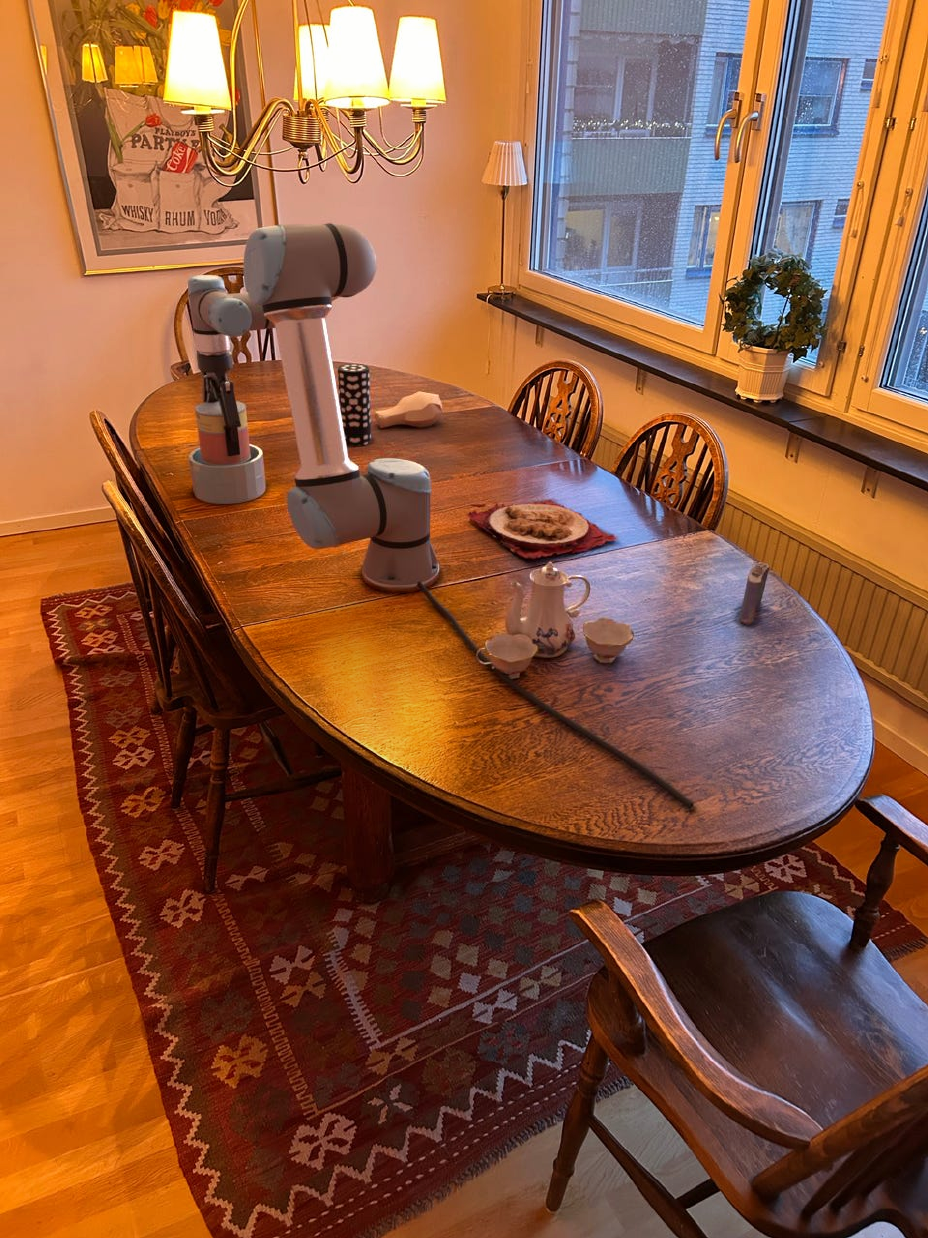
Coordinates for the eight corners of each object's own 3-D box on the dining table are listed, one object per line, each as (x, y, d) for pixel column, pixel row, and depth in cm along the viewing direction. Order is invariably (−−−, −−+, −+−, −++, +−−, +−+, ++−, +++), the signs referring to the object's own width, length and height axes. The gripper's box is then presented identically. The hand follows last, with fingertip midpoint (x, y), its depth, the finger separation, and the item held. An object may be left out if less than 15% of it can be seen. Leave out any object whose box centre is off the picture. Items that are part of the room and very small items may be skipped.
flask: (750, 626, 160) (762, 574, 154) (734, 622, 161) (745, 570, 155) (761, 605, 167) (773, 554, 161) (746, 601, 168) (757, 551, 162)
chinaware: (495, 704, 140) (505, 621, 130) (454, 643, 152) (461, 562, 142) (642, 668, 150) (662, 588, 140) (593, 614, 162) (608, 537, 152)
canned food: (211, 447, 209) (204, 398, 203) (257, 450, 208) (252, 401, 202) (194, 464, 199) (187, 413, 193) (242, 467, 199) (236, 416, 193)
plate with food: (528, 567, 178) (530, 552, 176) (464, 518, 197) (465, 504, 195) (618, 544, 189) (621, 530, 187) (549, 500, 208) (551, 486, 206)
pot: (276, 495, 206) (273, 459, 201) (207, 509, 198) (202, 471, 194) (250, 472, 218) (247, 438, 213) (184, 485, 210) (179, 449, 205)
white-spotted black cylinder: (377, 441, 240) (375, 368, 230) (354, 448, 235) (351, 373, 225) (357, 433, 245) (355, 361, 235) (334, 440, 240) (331, 367, 230)
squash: (449, 427, 253) (448, 399, 247) (383, 442, 248) (380, 413, 242) (436, 410, 261) (435, 382, 255) (372, 424, 256) (369, 396, 250)
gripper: (249, 361, 185) (259, 460, 196) (212, 337, 201) (223, 430, 213) (215, 365, 181) (226, 465, 192) (180, 341, 198) (193, 434, 209)
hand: (225, 447), depth 203 cm, fingers closed on canned food, 11 cm apart
